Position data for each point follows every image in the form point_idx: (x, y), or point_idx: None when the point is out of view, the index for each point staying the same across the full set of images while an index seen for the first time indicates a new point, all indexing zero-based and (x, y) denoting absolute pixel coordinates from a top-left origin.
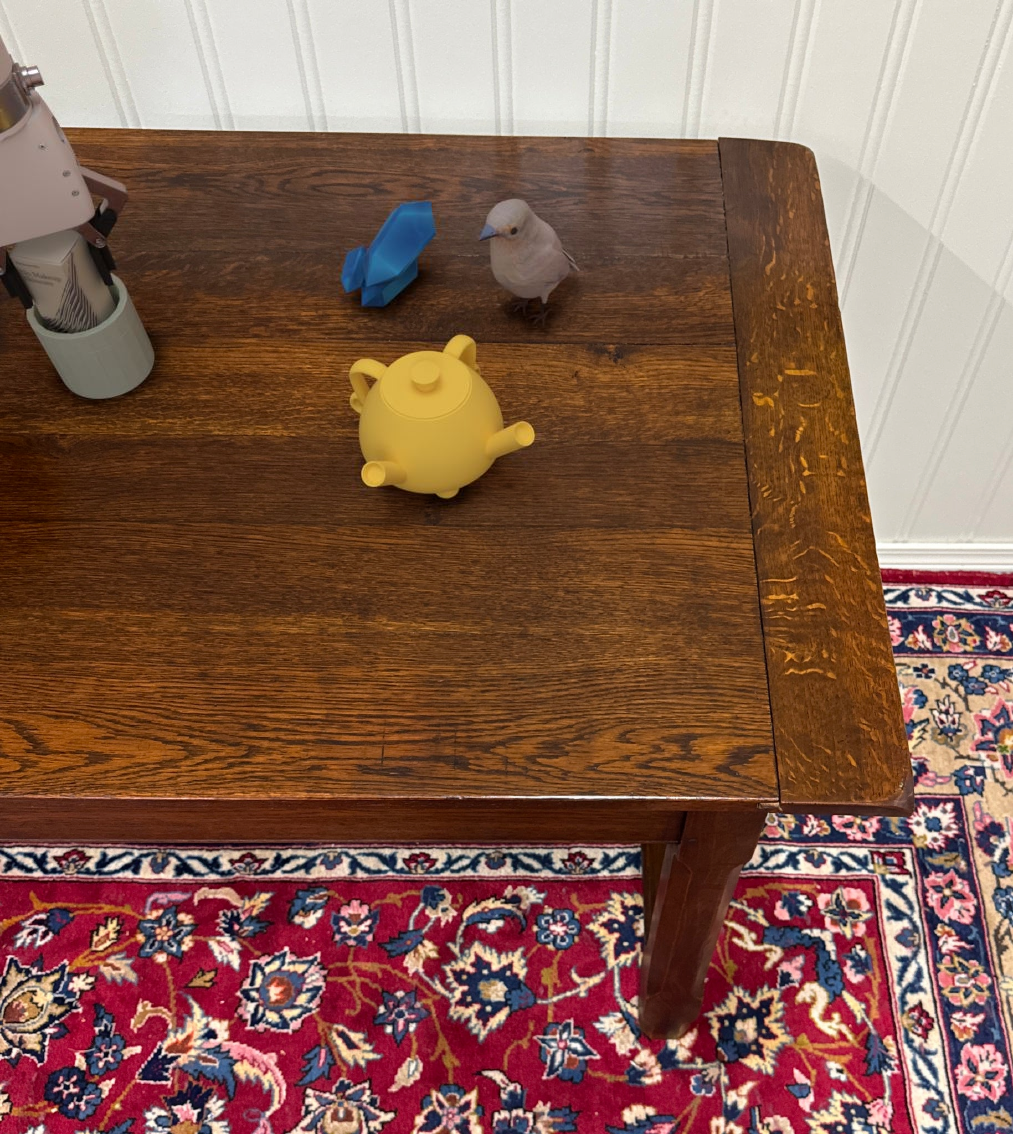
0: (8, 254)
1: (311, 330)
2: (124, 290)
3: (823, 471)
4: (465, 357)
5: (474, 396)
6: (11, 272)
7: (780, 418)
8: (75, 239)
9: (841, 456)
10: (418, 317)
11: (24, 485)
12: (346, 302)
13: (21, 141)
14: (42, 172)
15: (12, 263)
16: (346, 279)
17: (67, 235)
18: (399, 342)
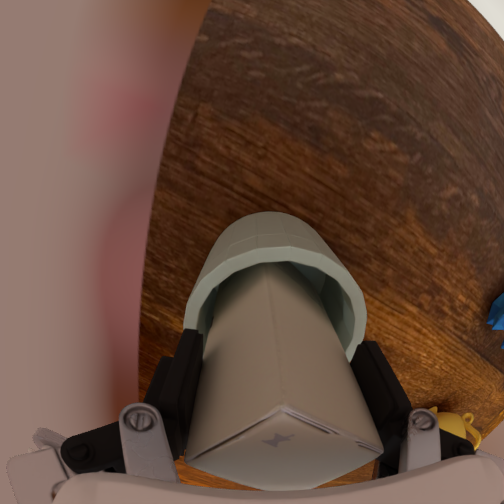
0: (178, 408)
1: (451, 318)
2: (358, 342)
3: (481, 438)
4: (471, 433)
5: None
6: (181, 453)
7: (496, 420)
8: (356, 468)
9: (488, 433)
10: (493, 333)
11: (150, 368)
12: (483, 299)
13: None
14: None
15: (185, 433)
16: (501, 326)
17: (349, 462)
18: (473, 351)
